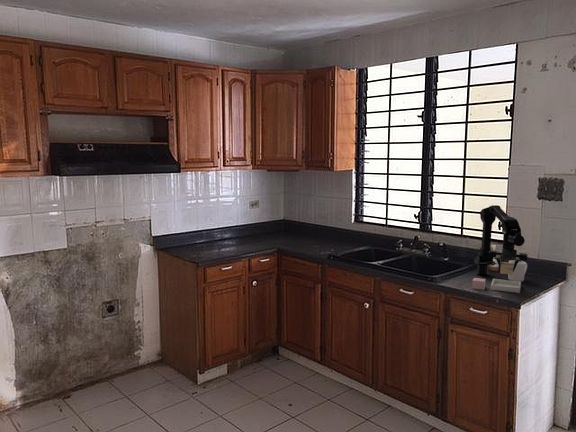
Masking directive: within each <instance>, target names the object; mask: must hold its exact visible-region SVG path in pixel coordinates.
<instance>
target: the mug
mask: <svg viewBox="0 0 576 432" xmlns="http://www.w3.org/2000/svg"><path fill="white" fill-rule="evenodd" d="M508 263H515V259H514V260H512V259H510V260H508ZM527 270H528V263H527V262H526V261H524V260H521V262H520V261H519V262H518V264H517V266H516V268H515V270H514V272H513V275H509V274H507V276H508V278H507V280H509V281H518V282H521V283H522V282H524V281H525V275H526V272H527Z"/></svg>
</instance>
